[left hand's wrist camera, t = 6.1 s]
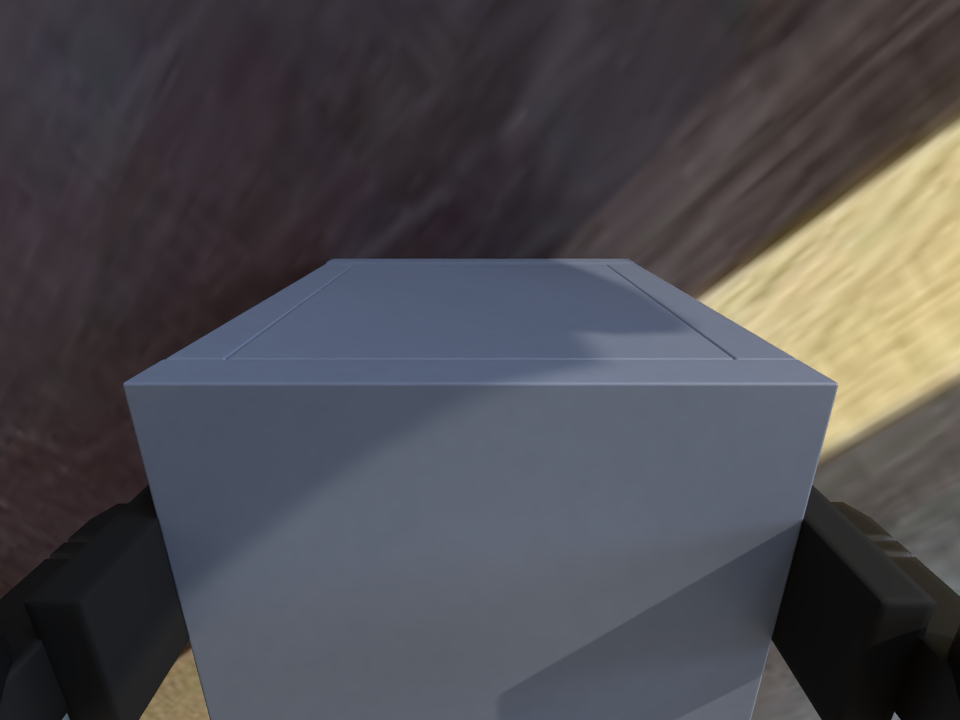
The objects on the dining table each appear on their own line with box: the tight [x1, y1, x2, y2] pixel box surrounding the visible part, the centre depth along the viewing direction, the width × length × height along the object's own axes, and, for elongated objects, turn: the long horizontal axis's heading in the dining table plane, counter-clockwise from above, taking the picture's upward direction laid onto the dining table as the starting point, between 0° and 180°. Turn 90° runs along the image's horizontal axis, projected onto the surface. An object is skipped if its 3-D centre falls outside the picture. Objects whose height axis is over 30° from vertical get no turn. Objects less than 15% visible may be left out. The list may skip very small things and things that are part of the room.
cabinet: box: [123, 259, 838, 720], centre depth 16 cm, size 15×11×12 cm
